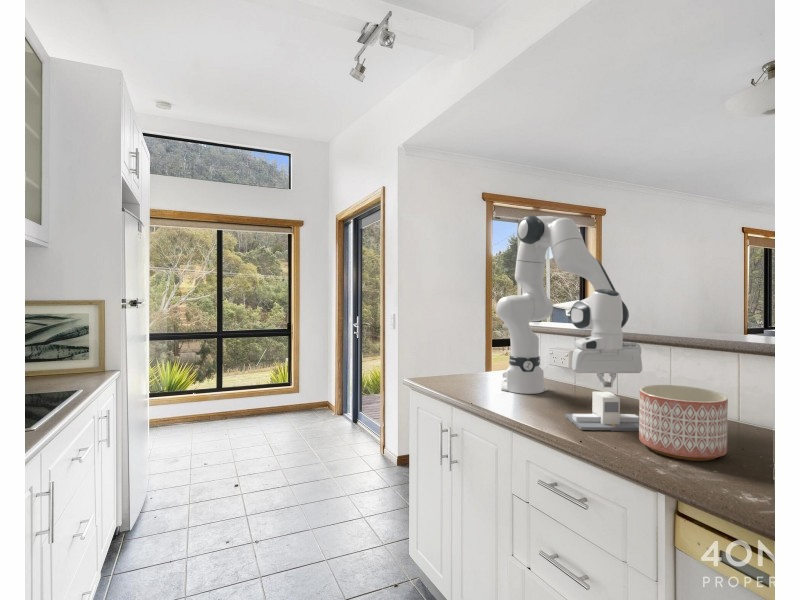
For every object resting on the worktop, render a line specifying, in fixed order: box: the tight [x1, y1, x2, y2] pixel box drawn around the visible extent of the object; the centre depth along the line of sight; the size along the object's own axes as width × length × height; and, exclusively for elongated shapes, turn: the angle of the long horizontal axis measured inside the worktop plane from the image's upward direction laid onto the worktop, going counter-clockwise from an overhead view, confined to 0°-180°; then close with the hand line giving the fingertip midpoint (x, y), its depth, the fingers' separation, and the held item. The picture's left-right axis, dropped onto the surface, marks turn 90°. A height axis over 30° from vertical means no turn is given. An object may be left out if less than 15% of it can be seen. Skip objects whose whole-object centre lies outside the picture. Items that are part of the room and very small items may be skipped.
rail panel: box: [564, 413, 639, 432], centre depth 138 cm, size 14×20×2 cm
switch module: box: [591, 391, 621, 424], centre depth 138 cm, size 8×5×8 cm, turn 178°
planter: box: [638, 384, 729, 462], centre depth 116 cm, size 19×19×15 cm
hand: (606, 387), depth 138 cm, fingers closed
